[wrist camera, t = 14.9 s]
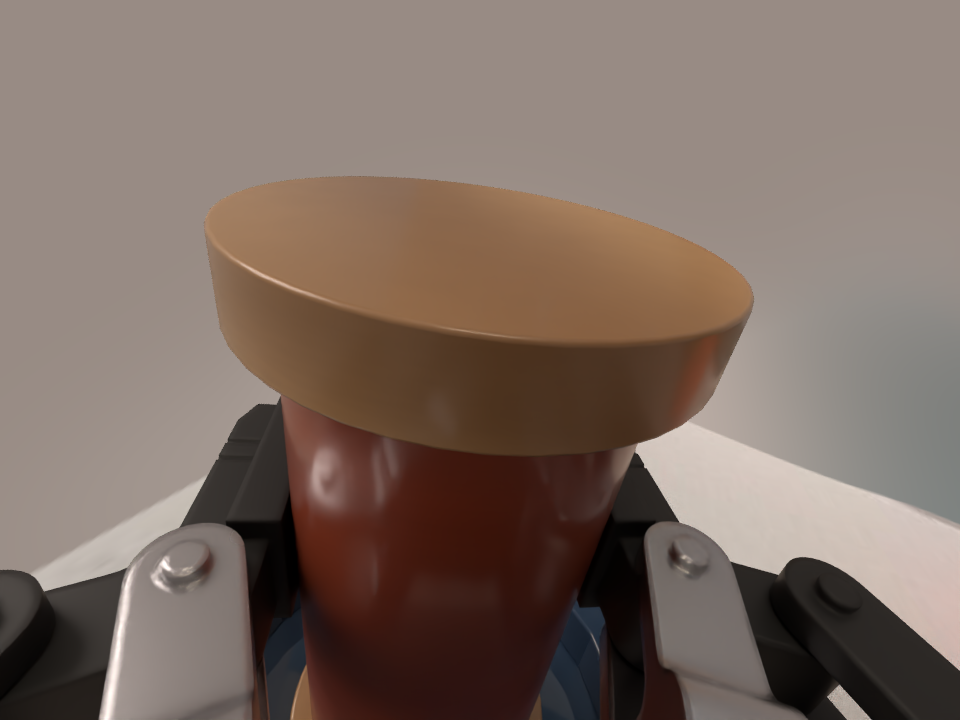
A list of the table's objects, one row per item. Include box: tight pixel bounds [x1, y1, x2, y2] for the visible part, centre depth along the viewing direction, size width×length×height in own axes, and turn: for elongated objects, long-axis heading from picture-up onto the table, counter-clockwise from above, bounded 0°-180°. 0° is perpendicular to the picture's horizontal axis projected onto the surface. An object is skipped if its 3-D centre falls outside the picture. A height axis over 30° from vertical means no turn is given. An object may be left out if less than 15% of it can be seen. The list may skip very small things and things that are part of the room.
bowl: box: [264, 589, 605, 720], centre depth 11 cm, size 13×13×4 cm
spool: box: [204, 176, 754, 720], centre depth 8 cm, size 6×6×12 cm
